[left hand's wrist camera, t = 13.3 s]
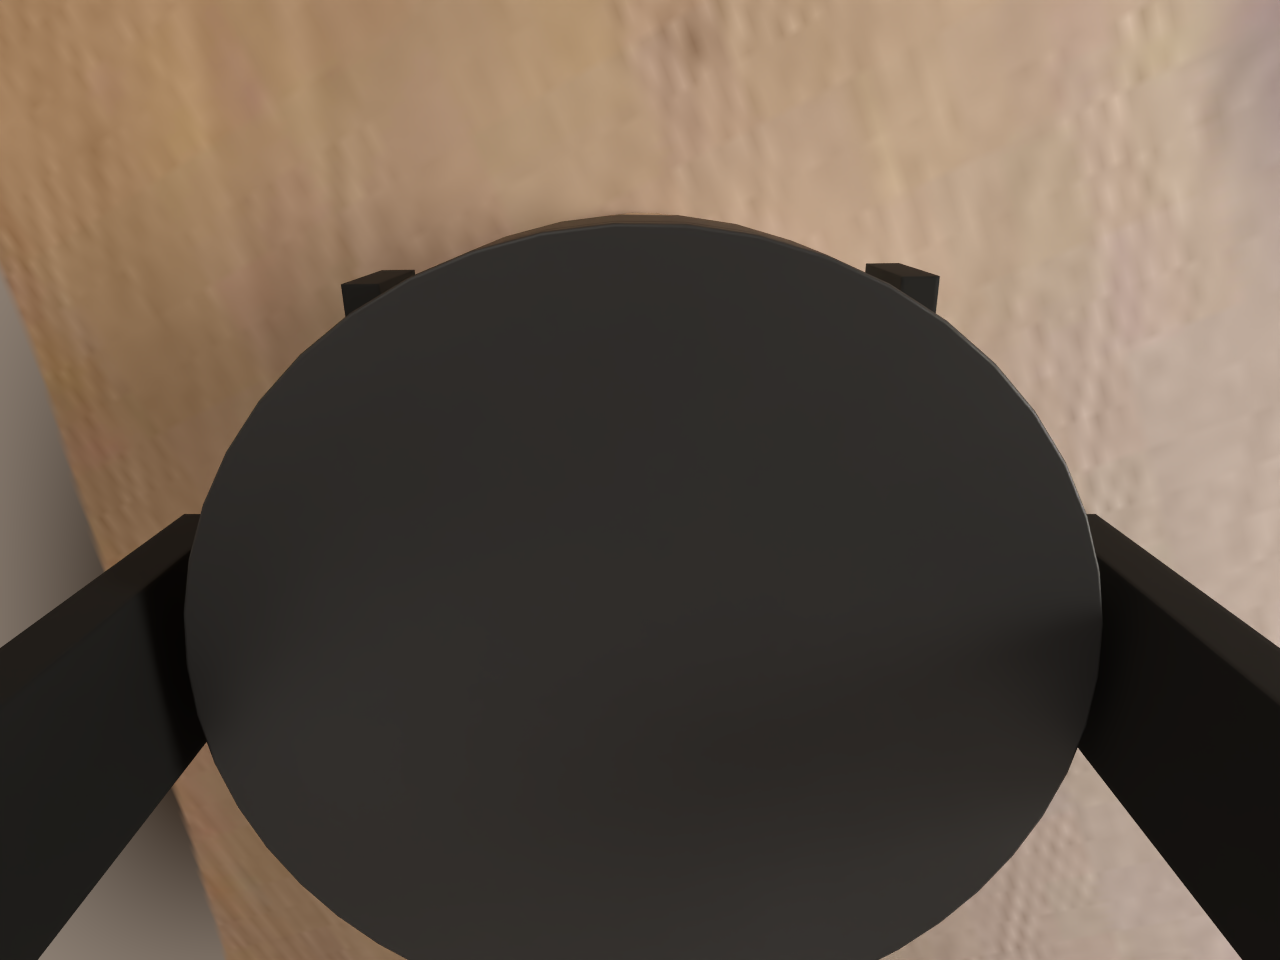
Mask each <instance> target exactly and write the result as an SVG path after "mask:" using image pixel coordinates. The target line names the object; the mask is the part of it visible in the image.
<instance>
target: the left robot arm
mask: <svg viewBox="0 0 1280 960" xmlns="http://www.w3.org/2000/svg"><path fill="white" fill-rule="evenodd" d="M200 515H201V514H184V515H182V516H181V517H180V518H178V519H177V520H176V521H174V522H173V523H171V524H170V525H169V526H167V527H166V528H165V529H163V530H162V531H160V532H159V533H158V534H156V535H155V536H154V537H152V538H151V539H149V540H148V541H147V542H145V543H144V544H143V545H141V546H140V547H138V548H137V549H136V550H134V551H133V552H132V553H130V554H129V555H127V556H126V557H125V558H123V559H122V560H121V561H119V562H118V563H116V564H115V565H114V566H112V567H111V568H110V569H108V570H107V571H105V572H104V573H103V574H101V575H100V576H99V577H97V578H96V579H95V580H93V581H92V582H90V583H89V584H88V585H86V586H85V587H84V588H82V589H81V590H79V591H78V592H77V593H75V594H74V595H73V596H71V597H70V598H69V599H67V600H66V601H64V602H63V603H62V604H60V605H59V606H57V607H56V608H55V609H53V610H52V611H51V612H49V613H48V614H46V615H45V616H44V617H42V618H41V619H40V620H38V621H37V622H35V623H34V624H33V625H31V626H30V627H29V628H27V629H26V630H24V631H23V632H22V633H20V634H19V635H18V636H16V637H15V638H14V639H12V640H11V641H9V642H8V643H7V644H5V645H4V646H2V647H1V648H0V960H38V959H39V957H40V956H41V955H42V953H43V952H44V951H45V950H46V948H47V947H48V946H49V944H50V943H51V942H52V941H53V939H54V938H55V937H56V935H57V934H58V933H59V932H60V930H61V929H62V928H63V926H64V925H65V924H66V923H67V921H68V920H69V919H70V917H71V916H72V915H73V913H74V912H75V911H76V910H77V908H78V907H79V906H80V904H81V903H82V902H83V901H84V899H85V898H86V897H87V895H88V894H89V893H90V892H91V890H92V889H93V888H94V886H95V885H96V884H97V883H98V881H99V880H100V879H101V877H102V876H103V875H104V873H105V872H106V871H107V870H108V868H109V867H110V866H111V864H112V863H113V862H114V861H115V859H116V858H117V857H118V855H119V854H120V853H121V852H122V850H123V849H124V848H125V846H126V845H127V844H128V843H129V841H130V840H131V839H132V837H133V836H134V835H135V833H136V832H137V831H138V830H139V828H140V827H141V826H142V824H143V823H144V822H145V821H146V819H147V818H148V817H149V815H150V814H151V813H152V812H153V810H154V809H155V808H156V806H157V805H158V804H159V802H160V801H161V800H162V799H163V797H164V796H165V795H166V793H167V792H168V791H169V790H170V788H171V787H172V786H173V784H174V783H175V782H176V781H177V779H178V778H179V777H180V775H181V774H182V773H183V772H184V770H185V769H186V768H187V766H188V765H189V764H190V763H191V761H192V760H193V759H194V757H195V756H196V755H197V753H198V752H199V751H200V750H201V748H202V747H203V746H204V744H205V743H206V742H207V741H206V738H205V735H204V733H203V730H202V727H201V725H200V722H199V719H198V716H197V712H196V708H195V703H194V698H193V693H192V688H191V684H190V679H189V674H188V669H187V663H186V645H185V628H184V604H185V594H186V584H187V574H188V564H189V557H190V553H191V549H192V545H193V542H194V538H195V534H196V530H197V526H198V523H199V519H200ZM1087 518H1088V522H1089V527H1090V531H1091V536H1092V540H1093V544H1094V549H1095V553H1096V558H1097V562H1098V566H1099V572H1100V587H1101V602H1102V617H1103V629H1102V640H1101V652H1100V663H1099V674H1098V679H1097V684H1096V688H1095V692H1094V696H1093V700H1092V704H1091V708H1090V712H1089V716H1088V721H1087V725H1086V728H1085V730H1084V733H1083V735H1082V738H1081V740H1080V743H1079V745H1078V748H1079V750H1080V751H1081V752H1082V754H1083V755H1084V756H1085V757H1086V759H1087V760H1088V761H1089V763H1090V764H1091V765H1092V766H1093V768H1094V769H1095V770H1096V772H1097V773H1098V774H1099V775H1100V777H1101V778H1102V779H1103V781H1104V782H1105V783H1106V784H1107V786H1108V787H1109V788H1110V790H1111V791H1112V792H1113V794H1114V795H1115V796H1116V797H1117V799H1118V800H1119V801H1120V803H1121V804H1122V805H1123V806H1124V808H1125V809H1126V810H1127V812H1128V813H1129V814H1130V815H1131V817H1132V818H1133V819H1134V821H1135V822H1136V823H1137V824H1138V826H1139V827H1140V828H1141V830H1142V831H1143V832H1144V834H1145V835H1146V836H1147V837H1148V839H1149V840H1150V841H1151V843H1152V844H1153V845H1154V846H1155V848H1156V849H1157V850H1158V852H1159V853H1160V854H1161V855H1162V857H1163V858H1164V859H1165V861H1166V862H1167V863H1168V864H1169V866H1170V867H1171V868H1172V870H1173V871H1174V872H1175V874H1176V875H1177V876H1178V877H1179V879H1180V880H1181V881H1182V883H1183V884H1184V885H1185V886H1186V888H1187V889H1188V890H1189V892H1190V893H1191V894H1192V895H1193V897H1194V898H1195V899H1196V901H1197V902H1198V903H1199V905H1200V906H1201V907H1202V908H1203V910H1204V911H1205V912H1206V914H1207V915H1208V916H1209V917H1210V919H1211V920H1212V921H1213V923H1214V924H1215V925H1216V926H1217V928H1218V929H1219V930H1220V932H1221V933H1222V934H1223V935H1224V937H1225V938H1226V939H1227V941H1228V942H1229V943H1230V945H1231V946H1232V947H1233V948H1234V950H1235V951H1236V952H1237V954H1238V955H1239V956H1240V957H1241V959H1242V960H1280V648H1279V647H1277V646H1276V645H1275V644H1273V643H1272V642H1271V641H1269V640H1268V639H1266V638H1265V637H1264V636H1262V635H1261V634H1260V633H1258V632H1257V631H1256V630H1254V629H1253V628H1251V627H1250V626H1249V625H1247V624H1246V623H1245V622H1243V621H1242V620H1240V619H1239V618H1238V617H1236V616H1235V615H1234V614H1232V613H1231V612H1229V611H1228V610H1227V609H1225V608H1224V607H1223V606H1221V605H1220V604H1218V603H1217V602H1216V601H1214V600H1213V599H1212V598H1210V597H1209V596H1207V595H1206V594H1205V593H1203V592H1202V591H1201V590H1199V589H1198V588H1196V587H1195V586H1194V585H1192V584H1191V583H1190V582H1188V581H1187V580H1185V579H1184V578H1183V577H1181V576H1180V575H1179V574H1177V573H1176V572H1174V571H1173V570H1172V569H1170V568H1169V567H1168V566H1166V565H1165V564H1163V563H1162V562H1161V561H1159V560H1158V559H1157V558H1155V557H1154V556H1152V555H1151V554H1150V553H1148V552H1147V551H1146V550H1144V549H1143V548H1141V547H1140V546H1139V545H1137V544H1136V543H1135V542H1133V541H1132V540H1131V539H1129V538H1128V537H1126V536H1125V535H1124V534H1122V533H1121V532H1120V531H1118V530H1117V529H1115V528H1114V527H1113V526H1111V525H1110V524H1109V523H1107V522H1106V521H1104V520H1103V519H1102V518H1100V517H1099V516H1098V515H1096V514H1087Z"/></svg>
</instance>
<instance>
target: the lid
mask: <svg viewBox="0 0 1280 960" xmlns="http://www.w3.org/2000/svg"><path fill="white" fill-rule="evenodd" d="M184 628H185V645H186V663H187V669H188V674H189V679H190V684H191V688H192V693H193V698H194V703H195V708H196V712H197V716H198V719H199V722H200V725H201V727H202V730H203V733H204V735H205V738H206V741H207V744H208V746H209V749H210V752H211V755H212V757H213V760H214V763H215V765H216V766H217V768H218V770H219V772H220V774H221V776H222V778H223V780H224V782H225V783H226V785H227V787H228V789H229V791H230V793H231V795H232V797H233V798H234V800H235V802H236V804H237V806H238V808H239V809H240V810H241V812H242V813H243V815H244V816H245V817H246V819H247V820H248V822H249V823H250V824H251V826H252V827H253V829H254V830H255V831H256V833H257V834H258V836H259V837H260V838H261V840H262V841H263V843H264V844H265V845H266V847H267V848H268V849H269V850H270V851H271V852H272V853H273V855H274V856H275V857H276V858H277V859H278V860H279V861H280V862H281V863H282V864H283V865H284V867H285V868H286V869H287V870H288V871H289V872H290V873H291V874H292V875H293V876H294V877H295V879H296V880H297V881H298V882H299V883H300V884H301V885H302V886H303V887H305V888H306V889H307V890H308V891H309V892H310V893H312V894H313V895H314V896H315V897H316V898H317V899H319V900H320V901H321V902H322V903H323V904H324V905H326V906H327V907H328V908H329V909H330V910H331V911H333V912H334V913H335V914H336V915H337V916H338V917H340V918H341V919H343V920H344V921H346V922H347V923H349V924H350V925H352V926H353V927H355V928H356V929H357V930H359V931H360V932H362V933H363V934H365V935H366V936H368V937H369V938H371V939H372V940H374V941H375V942H376V943H378V944H380V945H382V946H383V947H385V948H387V949H389V950H391V951H393V952H395V953H396V954H398V955H400V956H402V957H404V958H406V959H408V960H879V959H881V958H883V957H885V956H887V955H889V954H891V953H893V952H895V951H897V950H899V949H900V948H902V947H903V946H905V945H906V944H908V943H909V942H911V941H912V940H914V939H916V938H917V937H919V936H920V935H922V934H923V933H925V932H926V931H928V930H929V929H931V928H932V927H934V926H936V925H937V924H939V923H940V922H941V921H943V920H944V919H945V918H946V917H947V916H949V915H950V914H951V913H952V912H954V911H955V910H956V909H957V908H958V907H960V906H961V905H962V904H963V903H965V902H966V901H967V900H968V899H969V898H971V897H972V896H973V895H974V894H976V893H977V892H978V891H979V890H980V889H981V888H982V887H983V886H984V885H985V884H986V883H987V882H988V881H989V880H990V879H991V878H992V877H993V876H994V875H995V874H996V872H997V871H998V870H999V869H1000V868H1001V867H1002V866H1003V865H1004V864H1005V863H1006V862H1007V861H1008V860H1009V859H1010V858H1011V857H1012V856H1013V855H1014V853H1015V852H1016V851H1017V849H1018V848H1019V847H1020V845H1021V844H1022V843H1023V841H1024V840H1025V839H1026V838H1027V836H1028V835H1029V834H1030V832H1031V831H1032V830H1033V828H1034V827H1035V826H1036V824H1037V823H1038V822H1039V820H1040V819H1041V818H1042V816H1043V815H1044V813H1045V811H1046V809H1047V808H1048V806H1049V804H1050V802H1051V801H1052V799H1053V797H1054V795H1055V794H1056V792H1057V790H1058V788H1059V787H1060V785H1061V783H1062V781H1063V780H1064V778H1065V776H1066V774H1067V772H1068V770H1069V768H1070V765H1071V763H1072V760H1073V758H1074V755H1075V753H1076V750H1077V748H1078V745H1079V743H1080V740H1081V738H1082V735H1083V733H1084V730H1085V728H1086V725H1087V721H1088V716H1089V712H1090V708H1091V704H1092V700H1093V696H1094V692H1095V688H1096V684H1097V679H1098V674H1099V663H1100V652H1101V640H1102V629H1103V617H1102V602H1101V587H1100V572H1099V566H1098V562H1097V558H1096V553H1095V549H1094V544H1093V540H1092V536H1091V531H1090V527H1089V522H1088V518H1087V514H1086V512H1085V509H1084V507H1083V504H1082V502H1081V499H1080V497H1079V494H1078V492H1077V489H1076V487H1075V484H1074V482H1073V480H1072V477H1071V475H1070V472H1069V470H1068V467H1067V465H1066V462H1065V460H1064V459H1063V457H1062V455H1061V454H1060V452H1059V450H1058V449H1057V447H1056V445H1055V444H1054V442H1053V440H1052V439H1051V437H1050V435H1049V434H1048V432H1047V430H1046V429H1045V427H1044V425H1043V424H1042V422H1041V420H1040V419H1039V417H1038V415H1037V414H1036V412H1035V411H1034V409H1033V408H1032V407H1031V406H1030V405H1029V403H1028V402H1027V401H1026V400H1025V399H1024V397H1023V396H1022V395H1021V394H1020V393H1019V391H1018V390H1017V389H1016V388H1015V387H1014V385H1013V384H1012V383H1011V382H1010V381H1009V379H1008V378H1007V377H1006V376H1005V375H1004V373H1003V372H1002V371H1001V370H1000V369H999V367H998V366H997V365H996V364H995V363H994V362H993V361H992V360H991V359H990V358H988V357H987V356H986V355H985V354H984V353H983V352H982V351H980V350H979V349H978V348H977V347H976V346H975V345H974V344H973V343H971V342H970V341H969V340H968V339H967V338H966V337H965V336H963V335H962V334H961V333H960V332H959V331H958V330H957V329H956V328H954V327H953V326H952V325H951V324H950V323H949V322H948V321H946V320H945V319H943V318H942V317H940V316H939V315H937V314H936V313H934V312H933V311H931V310H929V309H928V308H926V307H925V306H923V305H922V304H920V303H919V302H917V301H916V300H914V299H912V298H911V297H909V296H908V295H906V294H905V293H903V292H902V291H900V290H899V289H897V288H896V287H894V286H892V285H891V284H889V283H887V282H885V281H883V280H880V279H878V278H876V277H874V276H872V275H869V274H867V273H865V272H863V271H861V270H859V269H856V268H854V267H852V266H850V265H848V264H846V263H843V262H841V261H839V260H837V259H835V258H832V257H830V256H828V255H826V254H823V253H821V252H818V251H816V250H813V249H811V248H808V247H806V246H803V245H801V244H798V243H796V242H793V241H791V240H787V239H784V238H781V237H777V236H774V235H771V234H767V233H764V232H761V231H757V230H754V229H751V228H747V227H744V226H740V225H737V224H732V223H725V222H719V221H712V220H705V219H699V218H692V217H686V216H679V215H612V216H604V217H596V218H588V219H580V220H572V221H564V222H559V223H555V224H551V225H547V226H544V227H540V228H536V229H533V230H529V231H525V232H521V233H518V234H514V235H510V236H507V237H504V238H501V239H499V240H496V241H494V242H491V243H489V244H487V245H484V246H482V247H479V248H477V249H474V250H472V251H470V252H467V253H465V254H463V255H460V256H458V257H456V258H453V259H451V260H449V261H446V262H444V263H442V264H439V265H437V266H435V267H432V268H430V269H427V270H425V271H423V272H420V273H418V274H416V275H413V276H411V277H409V278H407V279H405V280H404V281H402V282H400V283H399V284H397V285H395V286H394V287H392V288H391V289H389V290H387V291H386V292H384V293H382V294H381V295H379V296H377V297H376V298H374V299H372V300H371V301H369V302H367V303H366V304H364V305H363V306H361V307H359V308H358V309H356V310H354V311H353V312H351V313H350V314H348V315H347V316H346V317H345V318H344V319H342V320H341V321H340V322H339V323H338V324H336V325H335V326H334V327H333V328H332V329H330V330H329V331H328V332H327V333H326V334H324V335H323V336H322V337H321V338H320V339H318V340H317V341H316V342H315V343H314V344H312V345H311V346H310V347H309V348H308V349H306V350H305V351H304V352H303V353H302V354H300V355H299V357H298V358H297V359H296V360H295V361H294V362H293V363H292V365H291V366H290V367H289V368H288V369H287V370H286V371H285V372H284V374H283V375H282V376H281V377H280V378H279V379H278V380H277V381H276V383H275V384H274V385H273V386H272V387H271V388H270V389H269V390H268V392H267V393H266V394H265V395H264V396H263V397H262V398H261V399H260V401H259V402H258V403H257V405H256V406H255V408H254V410H253V411H252V413H251V414H250V416H249V417H248V419H247V420H246V422H245V424H244V425H243V427H242V428H241V430H240V431H239V433H238V434H237V436H236V438H235V439H234V441H233V442H232V444H231V445H230V447H229V448H228V450H227V452H226V454H225V456H224V458H223V461H222V463H221V465H220V467H219V470H218V472H217V474H216V477H215V479H214V481H213V483H212V486H211V488H210V490H209V492H208V495H207V497H206V499H205V502H204V504H203V507H202V511H201V515H200V519H199V523H198V526H197V530H196V534H195V538H194V542H193V545H192V549H191V553H190V557H189V564H188V574H187V584H186V594H185V604H184Z"/></svg>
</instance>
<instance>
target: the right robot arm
mask: <svg viewBox="0 0 1280 960" xmlns="http://www.w3.org/2000/svg"><path fill="white" fill-rule="evenodd" d="M865 273H867V274H869V275H872V276H874V277H876V278H878V279H880V280H883V281H885V282H887V283H889V284H891V285H892V286H894V287H896V288H897V289H899V290H900V291H902V292H903V293H905V294H906V295H908V296H909V297H911V298H912V299H914V300H916V301H917V302H919V303H920V304H922V305H923V306H925V307H926V308H928V309H929V310H931V311H933V312H934V313H936V305H937V296H938V287H939V278H940V276H937V275H934V274H931V273H928V272H925V271H922V270H919V269H915V268H912V267H909V266H906V265H903V264H900V263H877V264H866V271H865ZM413 275H415V270H381V271H379V272H376V273H373V274H370V275H367V276H364V277H361V278H358V279H355V280H353V281H350V282H347V283H344V284H341V288H342V295H343V302H344V310H345V317H346V316H347V315H348V314H350V313H351V312H353V311H354V310H356V309H358V308H359V307H361V306H363V305H364V304H366V303H367V302H369V301H371V300H372V299H374V298H376V297H377V296H379V295H381V294H382V293H384V292H386V291H387V290H389V289H391V288H392V287H394V286H395V285H397V284H399V283H400V282H402V281H404V280H405V279H407V278H409V277H411V276H413Z"/></svg>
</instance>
